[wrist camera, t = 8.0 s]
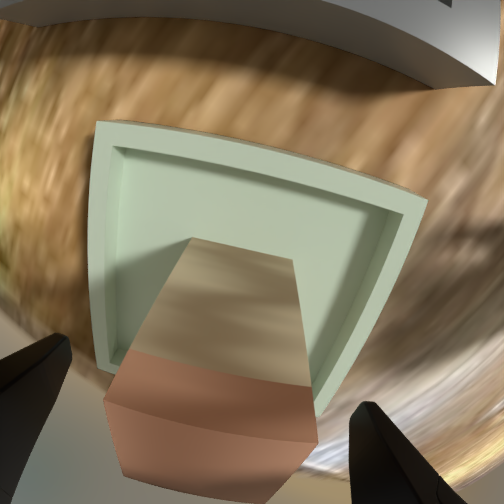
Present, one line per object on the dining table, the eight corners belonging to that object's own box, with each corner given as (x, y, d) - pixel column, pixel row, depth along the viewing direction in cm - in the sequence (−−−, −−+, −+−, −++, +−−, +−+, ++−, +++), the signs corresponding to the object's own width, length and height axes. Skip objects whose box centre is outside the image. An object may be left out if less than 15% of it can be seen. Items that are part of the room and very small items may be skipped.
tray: (408, 188, 11) (428, 200, 10) (316, 393, 16) (319, 417, 14) (118, 119, 11) (96, 121, 9) (109, 347, 15) (97, 368, 14)
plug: (292, 259, 12) (318, 442, 5) (267, 336, 14) (264, 504, 6) (192, 237, 12) (102, 399, 5) (181, 318, 14) (123, 476, 6)
